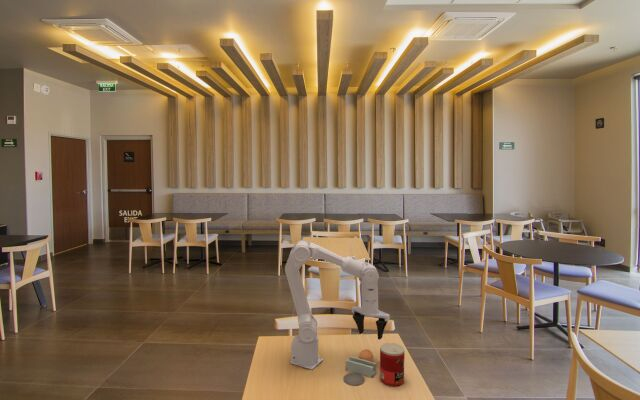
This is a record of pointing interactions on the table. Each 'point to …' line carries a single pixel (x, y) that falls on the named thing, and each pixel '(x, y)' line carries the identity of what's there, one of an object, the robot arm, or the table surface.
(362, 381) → the coaster
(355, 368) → the acrylic fence
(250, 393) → the table surface
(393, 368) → the canned food
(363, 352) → the ball
